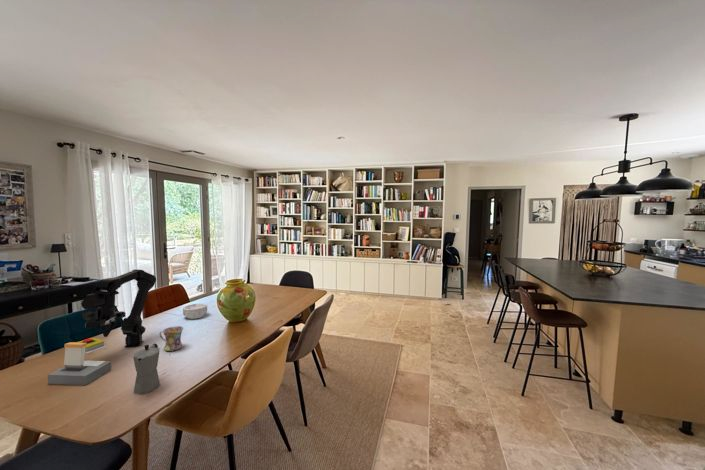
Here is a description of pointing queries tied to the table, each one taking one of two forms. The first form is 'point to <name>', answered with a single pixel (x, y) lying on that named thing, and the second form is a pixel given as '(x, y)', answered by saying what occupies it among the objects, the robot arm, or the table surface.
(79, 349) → the handle
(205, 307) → the paper bowls
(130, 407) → the table surface
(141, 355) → the coffeepot
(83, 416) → the table surface
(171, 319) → the table surface
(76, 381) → the box
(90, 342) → the emergency button
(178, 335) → the mug
